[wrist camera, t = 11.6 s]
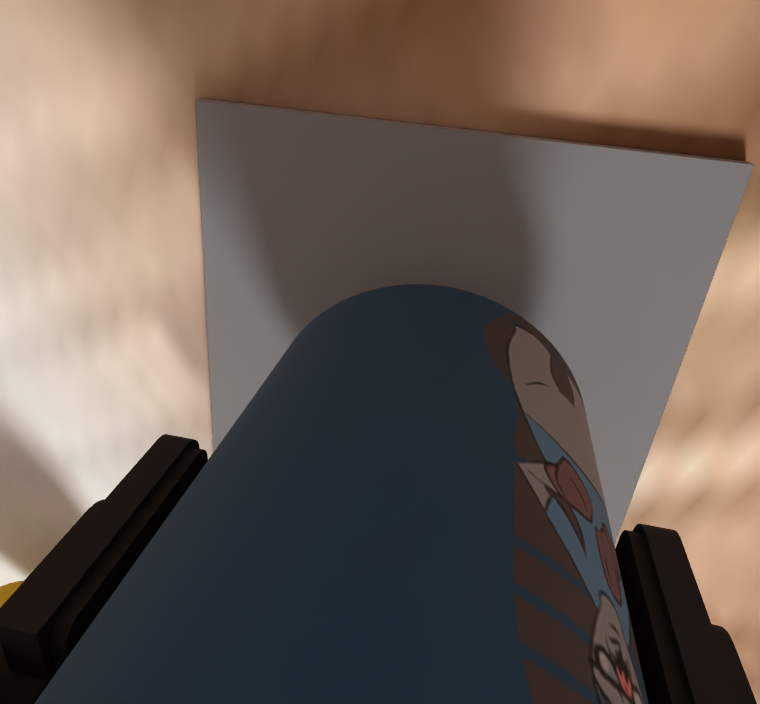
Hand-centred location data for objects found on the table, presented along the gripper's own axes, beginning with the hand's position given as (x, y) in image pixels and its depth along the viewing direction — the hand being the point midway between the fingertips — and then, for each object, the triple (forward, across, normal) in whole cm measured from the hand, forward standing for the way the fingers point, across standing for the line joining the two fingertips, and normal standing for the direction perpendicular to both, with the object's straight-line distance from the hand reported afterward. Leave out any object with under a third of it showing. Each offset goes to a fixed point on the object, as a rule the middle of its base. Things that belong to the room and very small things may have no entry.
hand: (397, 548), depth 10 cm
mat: (+7, 0, 0) cm, 7 cm away
